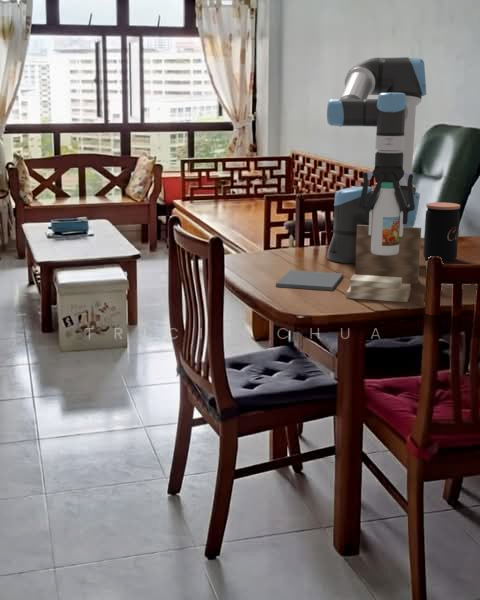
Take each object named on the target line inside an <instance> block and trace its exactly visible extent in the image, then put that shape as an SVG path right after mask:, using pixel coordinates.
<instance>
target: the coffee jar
mask: <svg viewBox="0 0 480 600" xmlns="http://www.w3.org/2000/svg"><path fill="white" fill-rule="evenodd" d="M425 206H426V208H427V210H426V211H425V219H424V220H425V221H424V222H425V223H424V238H423V254H422V255H423V257H424V259H425V260H426V261H428V260H427V259H428V257H430V256H439V257H441V258H442V261H443V262H442V263H453V262H454V261H455V260H456V259H457V258H458V247H459V233H460V232H459V231H460V230H459V229H460V220H461V219H460V218H461V217H460V216H461V213H460V210H459V209H461V204H458V203H454V202H443V201H442V202H441V201H440V202H428V203H426V205H425Z"/></svg>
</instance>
